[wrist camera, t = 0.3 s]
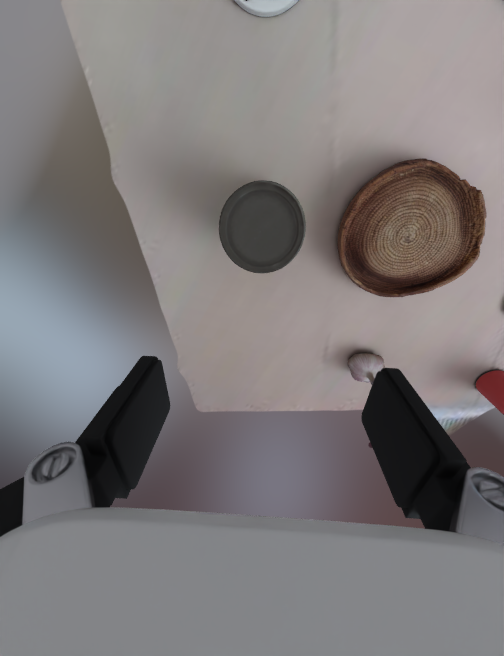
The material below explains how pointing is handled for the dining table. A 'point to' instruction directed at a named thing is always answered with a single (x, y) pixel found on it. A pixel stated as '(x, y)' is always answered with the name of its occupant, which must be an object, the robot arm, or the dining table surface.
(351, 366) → the garlic bulb
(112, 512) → the robot arm
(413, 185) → the basket
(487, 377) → the beer can
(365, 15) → the dining table surface
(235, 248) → the coffee can
